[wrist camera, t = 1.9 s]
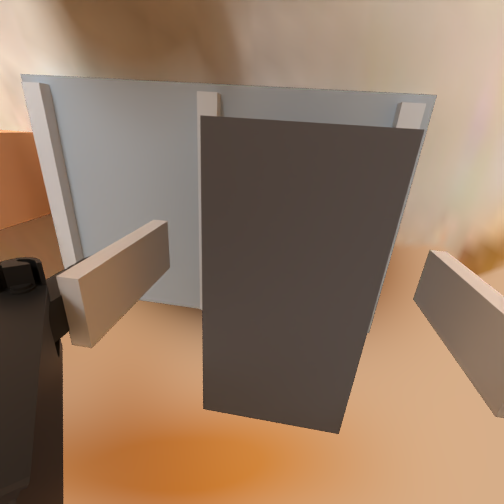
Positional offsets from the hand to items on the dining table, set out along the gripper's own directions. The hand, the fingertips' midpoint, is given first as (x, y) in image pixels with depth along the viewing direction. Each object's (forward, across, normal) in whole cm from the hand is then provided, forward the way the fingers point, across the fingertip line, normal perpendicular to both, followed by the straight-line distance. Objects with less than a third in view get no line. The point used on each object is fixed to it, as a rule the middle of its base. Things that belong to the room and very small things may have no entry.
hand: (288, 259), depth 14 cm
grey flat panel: (+6, -6, 0) cm, 8 cm away
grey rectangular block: (+5, 0, 0) cm, 5 cm away
